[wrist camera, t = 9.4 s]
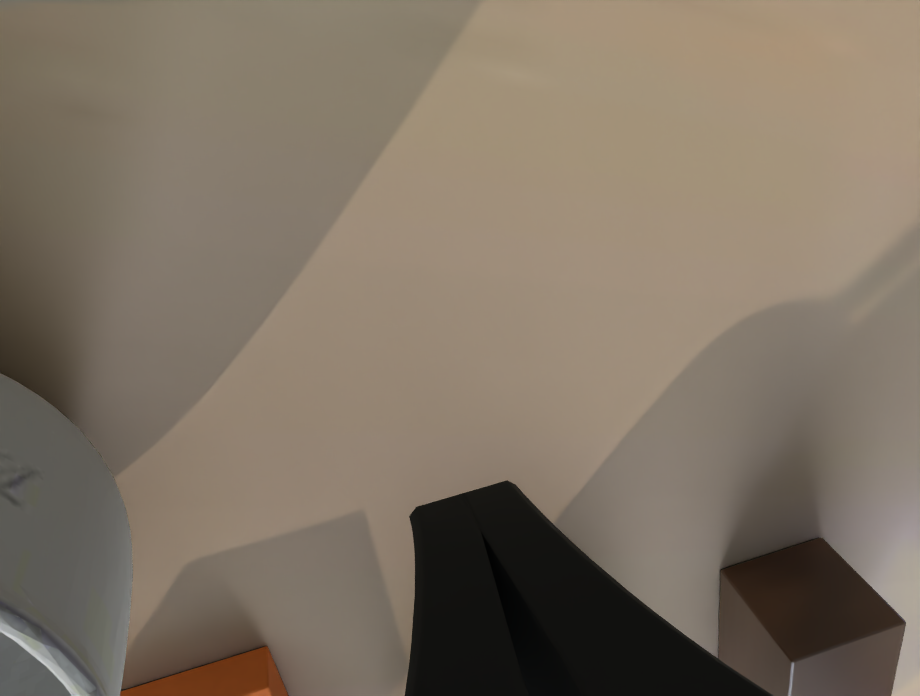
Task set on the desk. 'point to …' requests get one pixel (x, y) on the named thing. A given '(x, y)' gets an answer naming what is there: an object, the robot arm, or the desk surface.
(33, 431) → the teacup
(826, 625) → the walnut block
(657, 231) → the desk surface
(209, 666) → the orange box
